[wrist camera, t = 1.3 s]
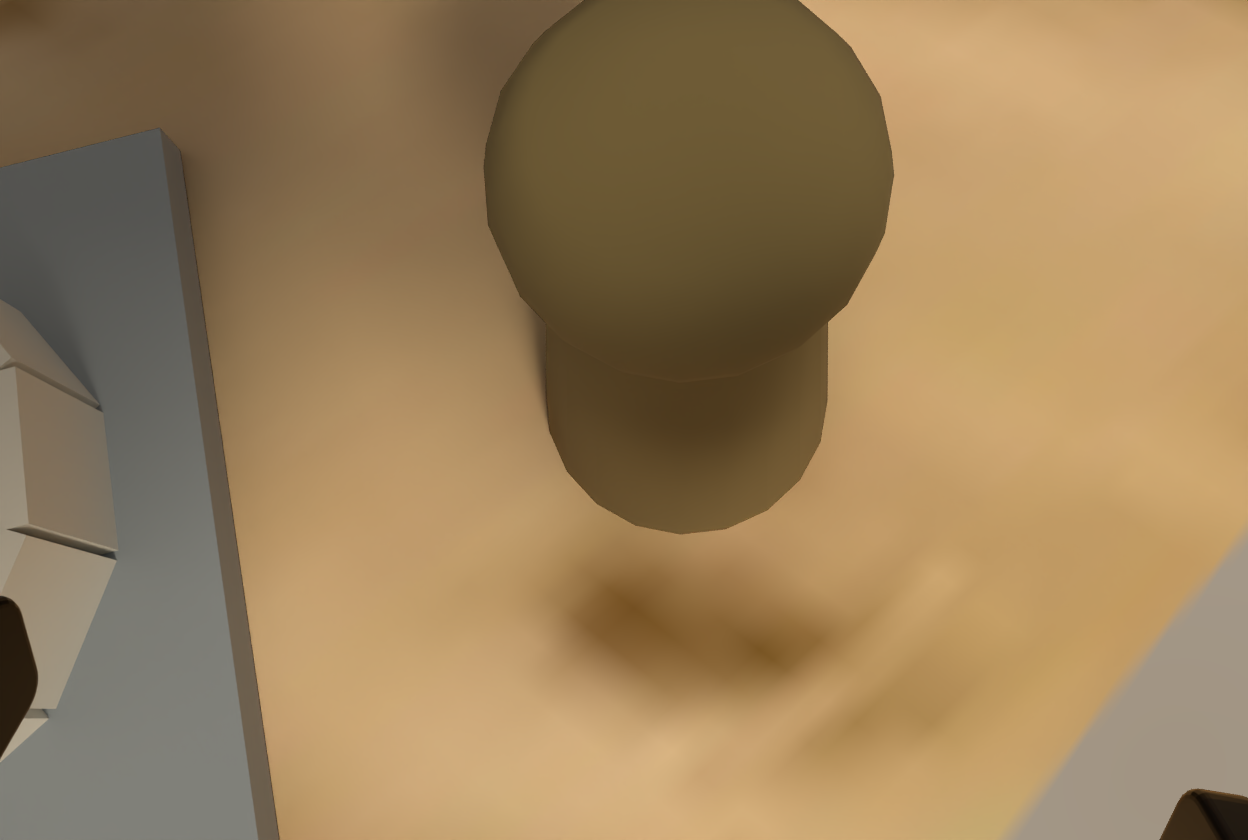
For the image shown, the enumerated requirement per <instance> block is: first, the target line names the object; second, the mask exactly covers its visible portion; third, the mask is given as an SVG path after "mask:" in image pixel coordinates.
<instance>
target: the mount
mask: <svg viewBox="0 0 1248 840" xmlns="http://www.w3.org/2000/svg"><path fill="white" fill-rule="evenodd" d="M0 596H5V597H8V598H10V599H12V600H13V601H14V602H15V603H16V604H17V605H18V606H19V608H20V610H21V612H22V616H23V619H24V623H25V626H26V630H27V634H28V637H29V641H30V644H31V648H32V651H33V655H34V659H35V662H36V666H37V670H38V686H37V691H36V695H35V697H34V700H33V702H32V705H31V707H30V709H29V710H28V712H27V714H26V715H25V717H24V719H23V721H22V722H21V724H20V726H19V728H18V729H17V731H16V733H15V735H14V736H13V738H12V740H11V742H10V743H9V745H8V747H7V748H6V750H5V752H4V754H3V755H2V757H1V759H0V840H279V835H278V828H277V821H276V814H275V807H274V800H273V793H272V786H271V779H270V772H269V765H268V758H267V751H266V745H265V738H264V731H263V724H262V717H261V710H260V703H259V696H258V689H257V682H256V675H255V668H254V661H253V654H252V647H251V640H250V633H249V626H248V619H247V612H246V605H245V598H244V591H243V584H242V577H241V571H240V564H239V557H238V550H237V543H236V536H235V529H234V522H233V515H232V508H231V501H230V494H229V487H228V480H227V473H226V466H225V459H224V452H223V445H222V438H221V431H220V424H219V417H218V410H217V403H216V397H215V390H214V383H213V376H212V369H211V362H210V355H209V348H208V341H207V334H206V327H205V320H204V313H203V306H202V299H201V292H200V285H199V278H198V271H197V264H196V257H195V250H194V243H193V236H192V229H191V222H190V216H189V209H188V202H187V195H186V188H185V181H184V174H183V167H182V160H181V153H180V150H179V149H178V148H177V147H176V145H175V144H174V143H173V142H172V141H171V140H170V139H169V138H168V136H167V135H166V134H165V133H164V132H163V131H162V130H161V129H160V128H157V129H153V130H149V131H145V132H141V133H137V134H133V135H129V136H125V137H121V138H117V139H113V140H109V141H105V142H101V143H97V144H93V145H89V146H85V147H81V148H77V149H73V150H69V151H65V152H61V153H57V154H53V155H49V156H45V157H41V158H37V159H33V160H29V161H25V162H21V163H17V164H13V165H9V166H5V167H1V168H0Z"/></svg>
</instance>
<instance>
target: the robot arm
mask: <svg viewBox="0 0 1248 840" xmlns="http://www.w3.org/2000/svg"><path fill="white" fill-rule="evenodd" d="M37 686H38V670H37V666H36V662H35V659H34V655H33V651H32V648H31V644H30V641H29V637H28V634H27V630H26V626H25V623H24V619H23V616H22V612H21V610H20V608H19V606H18V605H17V604H16V603H15V602H14V601H13V600H12V599H10V598H8V597H5V596H0V759H1V757H2V755H3V754H4V752H5V750H6V748H7V747H8V745H9V743H10V742H11V740H12V738H13V736H14V735H15V733H16V731H17V729H18V728H19V726H20V724H21V722H22V721H23V719H24V717H25V715H26V714H27V712H28V710H29V709H30V707H31V705H32V702H33V700H34V697H35V695H36V691H37ZM1160 840H1248V798H1247V797H1244V796H1240V795H1234V794H1229V793H1222V792H1216V791H1210V790H1204V789H1191V790H1189V791H1187V792H1186V793H1185V794H1183V795H1182V797H1181V798H1180V800H1179V801H1178V803H1177V805H1176V807H1175V809H1174V811H1173V813H1172V815H1171V818H1170V819H1169V821H1168V824H1167V826H1166V828H1165V830H1164V832H1163V834H1162V836H1161V838H1160Z"/></svg>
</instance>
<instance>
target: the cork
mask: <svg viewBox="0 0 1248 840" xmlns="http://www.w3.org/2000/svg"><path fill="white" fill-rule="evenodd" d="M484 178H485V191H486V204H487V218H488V226H489V228H490V230H491V232H492V235H493V237H494V239H495V242H496V244H497V246H498V248H499V251H500V253H501V255H502V257H503V259H504V262H505V264H506V266H507V268H508V270H509V273H510V275H511V277H512V279H513V281H514V284H515V286H516V288H517V290H518V292H519V295H520V297H521V298H522V299H523V300H524V301H525V302H526V303H527V304H528V305H529V306H530V307H531V308H532V309H533V310H534V311H535V312H536V313H537V314H538V315H539V316H540V317H541V318H542V320H543V321H544V322H545V323H546V395H547V407H548V418H549V429H550V434H551V436H552V438H553V441H554V443H555V445H556V448H557V450H558V452H559V454H560V457H561V459H562V461H563V463H564V466H565V468H566V470H567V472H568V473H569V474H570V475H571V476H572V477H573V478H574V479H575V481H576V482H577V483H578V484H579V485H580V486H581V487H582V488H583V489H584V490H585V491H586V493H587V494H588V495H589V496H590V497H591V498H592V499H593V500H594V501H595V502H596V503H597V504H598V505H600V506H602V507H604V508H605V509H607V510H609V511H611V512H613V513H614V514H616V515H618V516H620V517H621V518H623V519H625V520H627V521H629V522H630V523H632V524H634V525H636V526H641V527H646V528H651V529H656V530H661V531H666V532H671V533H676V534H688V533H696V532H705V531H714V530H723V529H727V528H729V527H732V526H734V525H736V524H738V523H740V522H743V521H745V520H747V519H749V518H751V517H753V516H756V515H758V514H760V513H762V512H764V511H767V510H768V509H769V508H770V507H771V506H772V505H773V504H774V503H775V502H777V501H778V500H779V499H780V498H781V497H782V496H783V495H784V494H785V493H786V492H787V491H788V490H790V489H791V488H792V487H793V486H794V485H795V484H796V483H797V482H798V481H799V480H800V479H801V477H802V475H803V473H804V471H805V469H806V468H807V466H808V464H809V462H810V460H811V458H812V456H813V455H814V453H815V451H816V449H817V447H818V445H819V444H820V441H821V435H822V429H823V423H824V417H825V411H826V405H827V387H828V321H829V320H831V319H832V318H833V317H834V316H835V315H836V314H837V313H838V312H839V311H841V310H842V309H843V308H844V307H845V306H846V305H847V304H848V302H849V300H850V299H851V297H852V295H853V293H854V291H855V289H856V288H857V286H858V284H859V282H860V280H861V279H862V277H863V275H864V273H865V271H866V270H867V268H868V266H869V264H870V262H871V261H872V259H873V257H874V255H875V253H876V251H877V249H878V247H879V245H880V242H881V240H882V238H883V236H884V234H885V229H886V222H887V216H888V210H889V203H890V197H891V190H892V184H893V178H894V170H893V159H892V150H891V146H890V141H889V136H888V131H887V126H886V121H885V116H884V111H883V106H882V101H881V96H880V94H879V93H878V91H877V89H876V88H875V86H874V84H873V83H872V81H871V79H870V78H869V76H868V74H867V73H866V71H865V70H864V68H863V66H862V65H861V63H860V61H859V60H858V58H857V56H856V55H855V53H854V51H853V50H852V48H851V47H850V46H849V45H848V44H847V43H846V42H845V41H844V40H843V39H842V38H841V37H840V36H839V35H838V34H837V33H836V32H835V31H834V30H832V29H831V28H830V27H829V26H828V25H827V24H825V23H824V22H823V21H822V20H821V19H820V18H818V17H817V16H816V15H815V14H814V13H812V12H811V11H810V10H809V9H808V8H807V7H805V6H804V5H803V4H802V3H801V2H800V1H798V0H584V1H583V2H581V3H580V4H579V5H578V6H576V7H575V8H574V9H573V10H571V11H570V12H569V13H568V14H566V15H565V16H564V17H563V18H561V19H560V20H559V21H558V22H556V23H555V24H554V25H553V26H551V27H550V28H549V29H548V30H546V31H545V32H544V33H543V34H542V35H541V36H540V37H539V38H538V39H537V40H536V41H535V42H534V43H533V44H532V46H531V47H530V49H529V50H528V52H527V53H526V55H525V56H524V58H523V59H522V61H521V62H520V64H519V65H518V67H517V68H516V70H515V71H514V73H513V74H512V75H511V77H510V78H509V80H508V81H507V83H506V84H505V86H504V87H503V89H502V90H501V92H500V96H499V100H498V103H497V107H496V111H495V114H494V118H493V121H492V125H491V129H490V132H489V136H488V140H487V143H486V150H485V159H484Z"/></svg>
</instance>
